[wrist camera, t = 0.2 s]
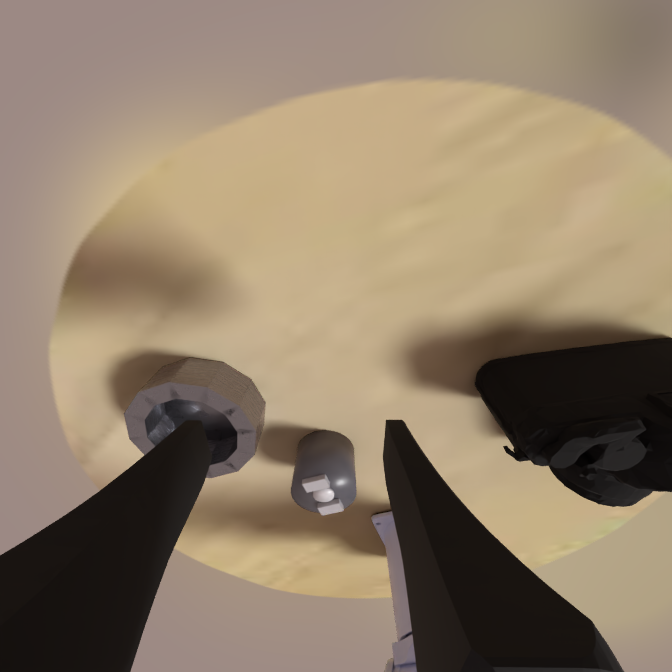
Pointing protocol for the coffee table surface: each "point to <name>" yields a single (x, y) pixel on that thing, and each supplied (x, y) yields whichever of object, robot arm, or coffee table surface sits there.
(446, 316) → the coffee table surface
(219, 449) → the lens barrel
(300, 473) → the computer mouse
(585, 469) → the film camera
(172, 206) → the coffee table surface
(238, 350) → the coffee table surface
